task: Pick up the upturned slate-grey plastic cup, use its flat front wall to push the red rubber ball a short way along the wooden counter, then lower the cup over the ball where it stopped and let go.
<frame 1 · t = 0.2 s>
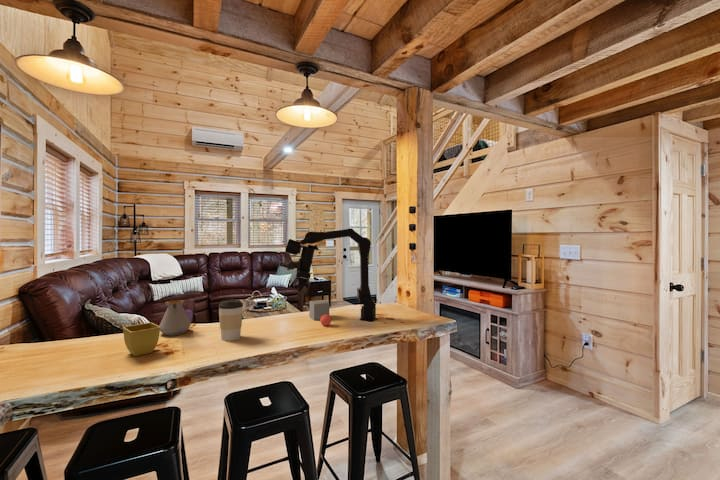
hand: (299, 289, 155), 15 cm above the bar counter, tool pointing down, fingers open, 9 cm apart
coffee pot: (174, 336, 130), on the bar counter
cup: (319, 317, 161), on the bar counter
ball: (325, 320, 148), on the bar counter
coffee cup: (230, 338, 129), on the bar counter
flower pot: (141, 353, 112), on the bar counter
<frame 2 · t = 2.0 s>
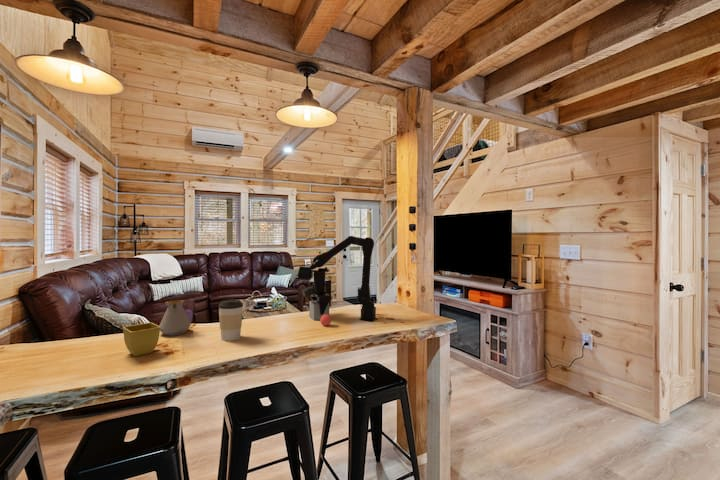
hand: (319, 312, 161), 3 cm above the bar counter, tool pointing down, fingers closed on cup, 8 cm apart
cup: (319, 317, 161), on the bar counter, touching gripper
everything else where it was.
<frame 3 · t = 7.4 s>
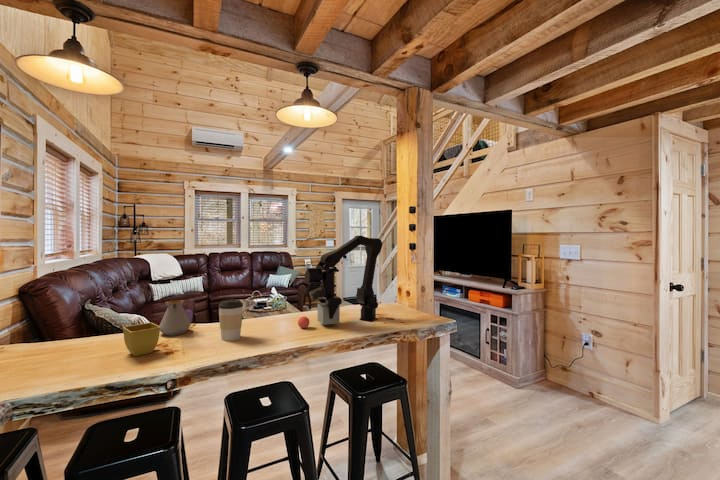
hand: (327, 316, 148), 4 cm above the bar counter, tool pointing down, fingers closed on cup, 8 cm apart
cup: (328, 321, 149), point 2 cm above the bar counter, touching gripper
ball: (303, 322, 144), on the bar counter
everything else where it was.
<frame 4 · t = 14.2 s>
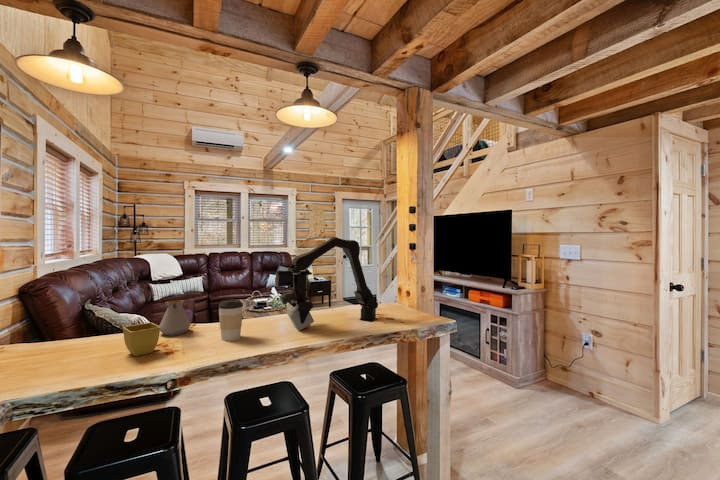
hand: (299, 321, 143), 3 cm above the bar counter, tool pointing down, fingers closed on cup, 8 cm apart
cup: (304, 324, 144), point 2 cm above the bar counter, tilted 27°, touching ball, gripper
ball: (305, 322, 144), on the bar counter, touching cup
everything else where it was.
when the fingers open (3 cm above the bar counter, at t = 14.5 s): cup drops 2 cm, on the bar counter.
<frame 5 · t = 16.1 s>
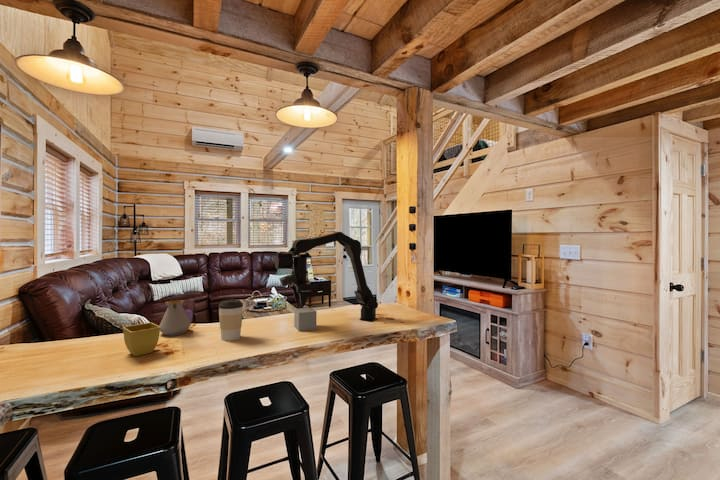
hand: (299, 304, 143), 11 cm above the bar counter, tool pointing down, fingers open, 9 cm apart
cup: (305, 327, 144), on the bar counter
ball: (305, 322, 144), on the bar counter
everything else where it was.
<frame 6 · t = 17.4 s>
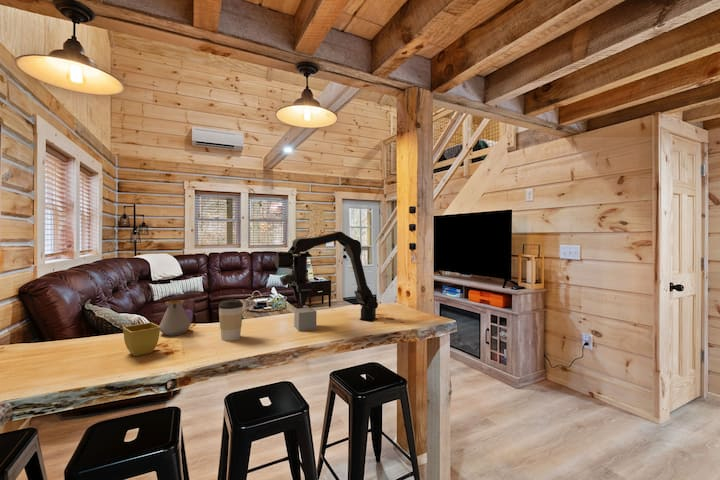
hand: (299, 303, 143), 11 cm above the bar counter, tool pointing down, fingers open, 9 cm apart
nothing on the bar counter moved.
at the end: ball 0.0 cm from the cup (horizontally); cup on the bar counter; ball moved 9.5 cm from its start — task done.
